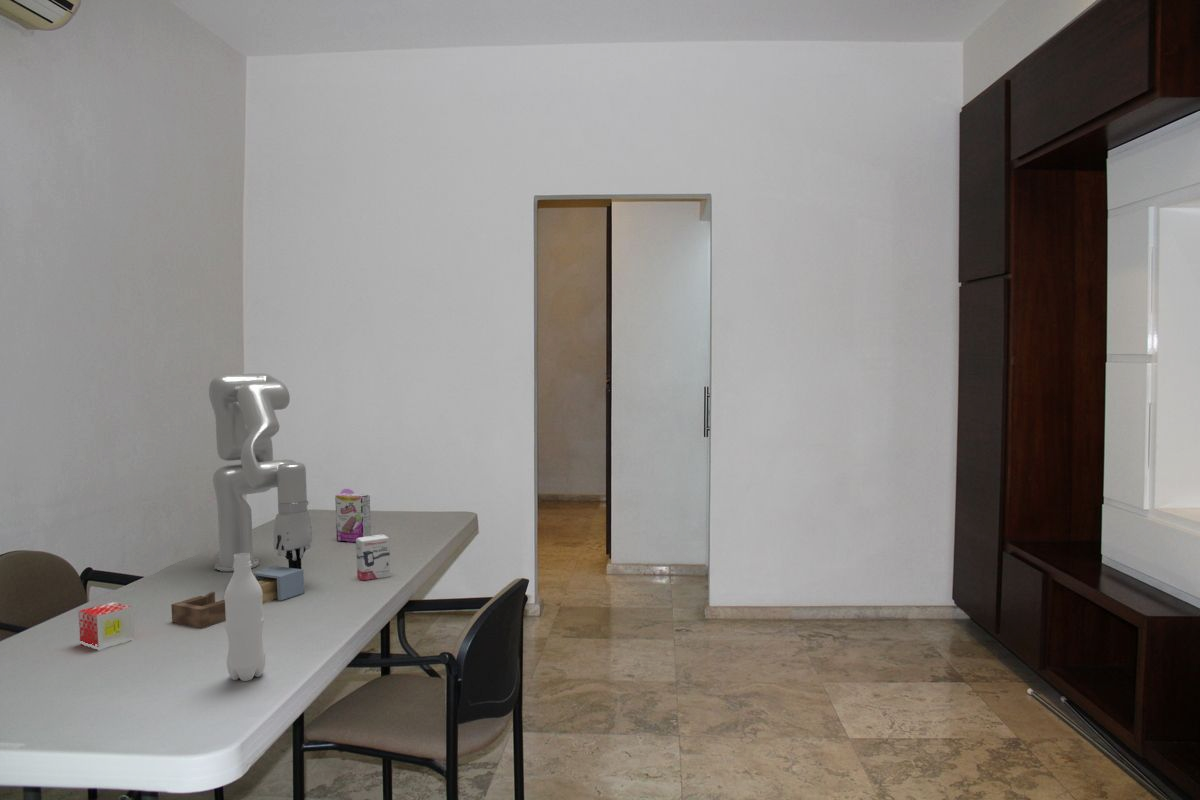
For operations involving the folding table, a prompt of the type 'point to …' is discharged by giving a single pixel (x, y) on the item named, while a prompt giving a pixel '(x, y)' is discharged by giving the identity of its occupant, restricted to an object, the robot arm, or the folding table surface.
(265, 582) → the oak slat
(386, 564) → the ink box
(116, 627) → the red and white box
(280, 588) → the blue end cap
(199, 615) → the walnut end cap
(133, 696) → the folding table surface
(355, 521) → the candy bar box
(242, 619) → the water bottle
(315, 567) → the folding table surface
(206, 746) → the folding table surface
